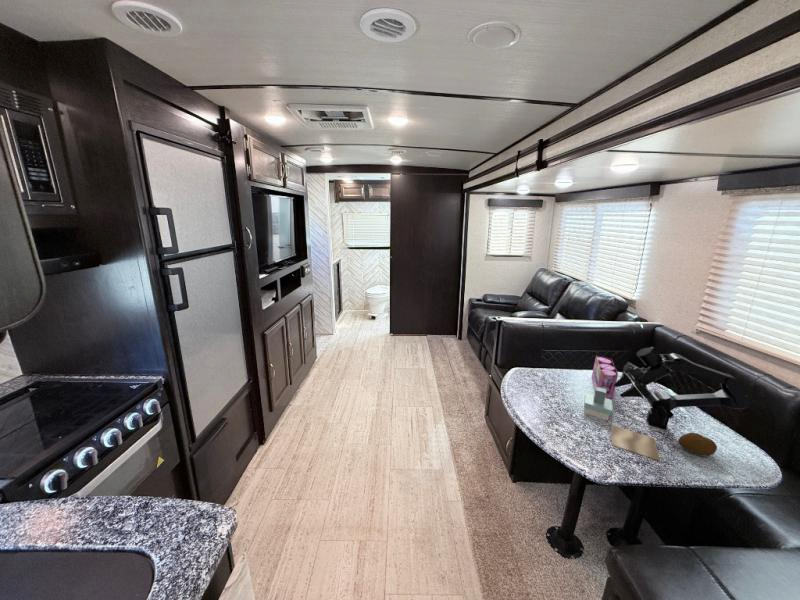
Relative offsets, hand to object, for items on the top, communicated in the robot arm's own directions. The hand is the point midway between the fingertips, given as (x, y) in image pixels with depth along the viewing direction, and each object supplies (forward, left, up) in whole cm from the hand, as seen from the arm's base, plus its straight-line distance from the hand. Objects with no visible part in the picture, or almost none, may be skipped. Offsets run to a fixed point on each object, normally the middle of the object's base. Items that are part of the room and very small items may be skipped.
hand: (617, 390), depth 141 cm
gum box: (+4, -28, -13) cm, 31 cm away
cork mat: (-7, +17, -12) cm, 22 cm away
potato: (-27, +10, -13) cm, 31 cm away
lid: (+6, +1, -9) cm, 11 cm away
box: (+6, +1, -12) cm, 14 cm away
